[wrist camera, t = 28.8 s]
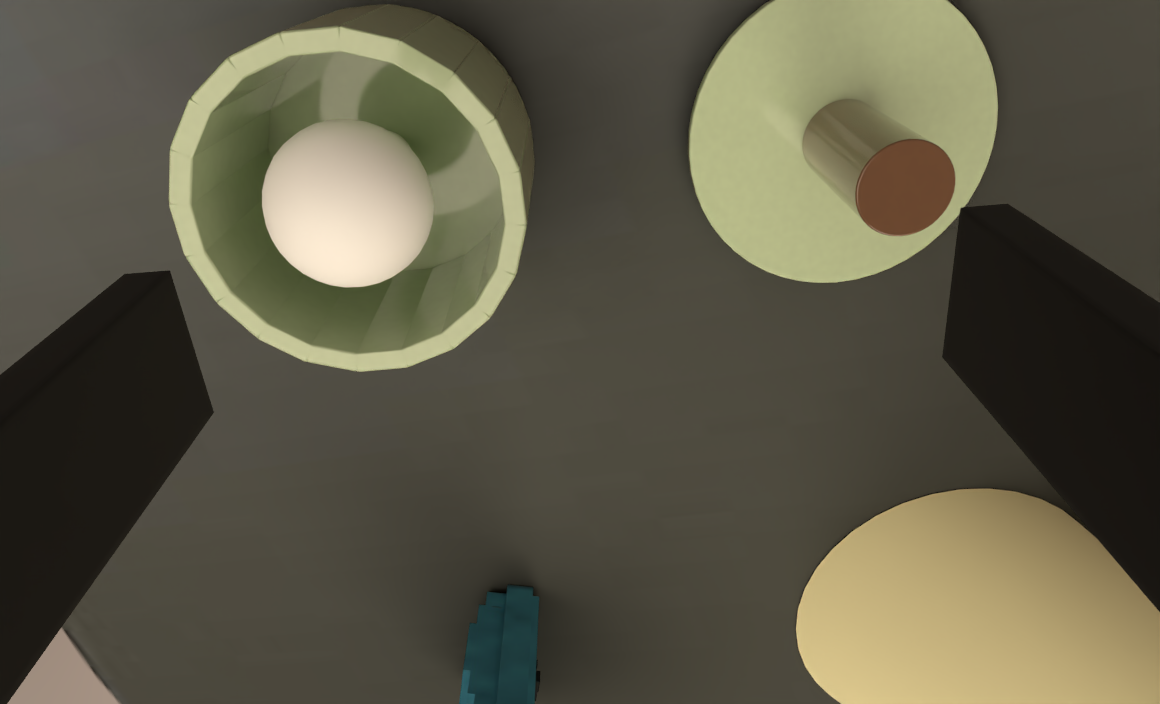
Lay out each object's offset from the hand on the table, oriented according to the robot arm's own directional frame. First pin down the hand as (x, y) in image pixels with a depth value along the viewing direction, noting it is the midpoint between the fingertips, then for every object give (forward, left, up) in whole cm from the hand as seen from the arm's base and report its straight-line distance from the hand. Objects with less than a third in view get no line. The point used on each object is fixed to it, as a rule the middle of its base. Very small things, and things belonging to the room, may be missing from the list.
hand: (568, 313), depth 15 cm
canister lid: (+4, +12, -26) cm, 28 cm away
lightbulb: (+3, -8, -26) cm, 27 cm away
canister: (+3, -8, -26) cm, 28 cm away
